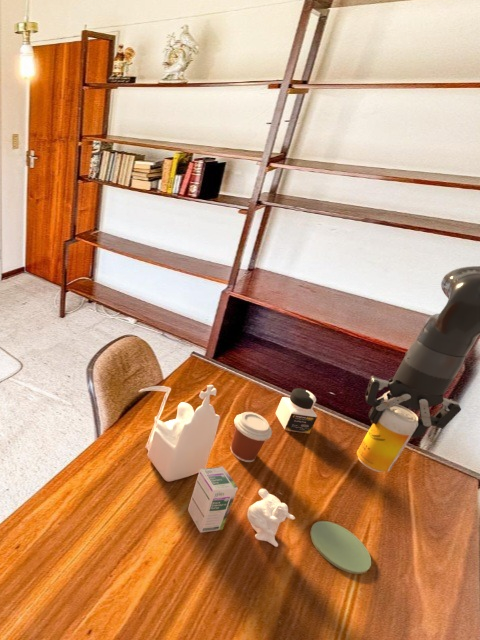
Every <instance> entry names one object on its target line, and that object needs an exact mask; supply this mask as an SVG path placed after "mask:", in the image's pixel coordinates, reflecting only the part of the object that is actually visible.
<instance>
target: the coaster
mask: <svg viewBox="0 0 480 640" xmlns="http://www.w3.org/2000/svg"><path fill="white" fill-rule="evenodd" d="M309 536H310V537H309V538H310V541H311V543H312V544H313V546H314V547H315V549H316V550H317V552H318V553H319V554H320V555H321V556H322V557H323V558H324V559H325V560H326V561H327V562H329V563H330V565H333V566H334V567H336V568H337V569H340V570H342V571H343V572H346V573H349V574H353V575H363V574H366V573H367V572H368V571H369V570H370V569H371V566H372V557H371V555H370V552H369V550H368V549H367V547H366V546H365V544H364V543H363V542H362V541H361V540H360V539H359V538H358V537H357V536H356V535H355V534H354V533H353V532H351V531H350V530H348V529H347V528H345V527H343V526H342V525H340V524H337V523H334V522H331V521H328V520H327V521H326V520H320V521H319V520H318V521H317V522H315V523H313V524H312V525H311V528H310V530H309Z"/></svg>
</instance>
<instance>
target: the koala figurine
mask: <svg viewBox="0 0 480 640" xmlns="http://www.w3.org/2000/svg"><path fill="white" fill-rule="evenodd" d="M257 493H258V495H259V497H260V498H262V499H261V500H258V501H255V502H254V503H253V504H251V505H250V506H249V507H248V509H247V514H246V515H247V517H246V518H247V520H248V522H249V524H250V526H251V527H252V530H254V531H255V532H256V533H255V535H254V538H255V539H256V540H258V541H264V542H267V543H269V544H270V545H272V546H274V547H275V548H277V547H279V543H278V542H277V539H276V537H275V536H276V534H277V532H278V530H279V526H280V525H281V523H282V522H285V521H286V518H287V519H289V520H292V521H293V520H296V517H295V516H294V515H293V514H291V513H290V512H289V507H288V505H287V504H286V503H285V502H281V500H280V499H279V498H278V497H277V496H275V495H274V494H271V493H269V491H268V490H267V489H266V488H259V490H258V492H257Z"/></svg>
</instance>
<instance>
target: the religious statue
mask: <svg viewBox="0 0 480 640" xmlns="http://www.w3.org/2000/svg"><path fill="white" fill-rule="evenodd" d="M149 391H150V392H152V391H153V392H164V397H163V400H162V402H161V405H160V408H159V411H158V413H157V415H156V416H154V424H153V425H152V428H151V432H150V433H149V437H148V438H147V439H148V440H147V442H146V444H145V446H144V448H145V450H147V458H148V460H149V461H150V462H151V463H152V465H153V466H154V468H155V469H156V470H157V472H158V473H159V474H160V476H161V477H162V479H163V480H165V481H166V482H174V481H178V480H181V479H185V478H189V477H190V476H193V475H197V474H199V471H200V469H205V468H207V465H208V461H209V459H210V454H211V451H212V449H213V446H214V443H215V439H216V435H217V431H218V428H219V423H220V419H221V415H219V414H216V410H215V407H214V406H213V404H210V401H211V400H210V399H211V398H210V397H211V396H214V397H216V396H217V393H218V392H217V391H218V390H217V388H216V387H214V385H213V384H209V385H206V391H203V390H201V391H200V393H199V395H198V397H199V399H201V400H203V401H202V403H201V405H199V406H198V407H197V408H196V409H195V410H194V407H193V406H192V405H191V403H188V402H184V401H182V402H180V403H179V404H178V405H177V409H176V410H177V411H176V417H175V418H174V419H170V420H167V421H162V420H160V417H161V415H162V414H163V411H164V408H165V406H166V403H167V400H168V397H169V395H170V393H171V391H172V388H171V387H170V386H165V385H154V386H153V385H152V386H148V387H144V388H141V389H140V390H138V393H141V392H142V393H143V392H149Z"/></svg>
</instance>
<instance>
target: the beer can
mask: <svg viewBox="0 0 480 640" xmlns="http://www.w3.org/2000/svg"><path fill="white" fill-rule="evenodd" d="M382 411H383V413H382V415H381V416H380V418H379V420H378V422H377V423H376V424H373V423H371V425H370V427H369V429H368V431H367V433H366V434H365V436H364V438H363V440H362V442H361V444H360V445H359V447H358V449H357V451H356V456H357V458H358V460H359V462H360V463H361V464H362V465H363V466H365V467H366V468H368V469H369V470H371V471H374V472H377V473H386V472H390V471H391V470H392V468H393V466H394V465H395V463H396V462H397V460H398V458H399V457H400V456H401V454H402V453H403V451H404V449H405V448H406V446H407V444H408V442H409V441H410V439H411V438H412V437H411V436H412V434H413V433H414V431H415V430H416V428H417V426H418V418H419V417H418V415H417V414H416V413H415V412H413V411H412V410H411V409H409V408H407V407H406V406H402V405H399V404H397V405H395V406H393V407H388V408H386V409H384V410H382Z"/></svg>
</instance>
